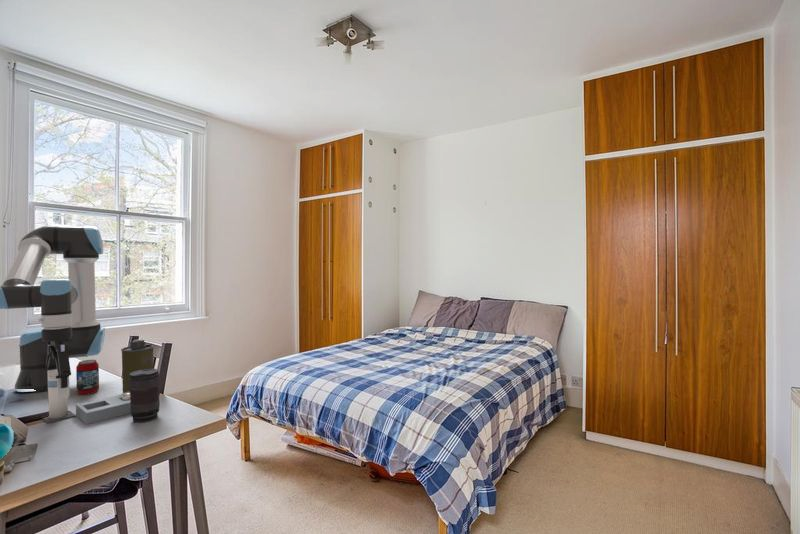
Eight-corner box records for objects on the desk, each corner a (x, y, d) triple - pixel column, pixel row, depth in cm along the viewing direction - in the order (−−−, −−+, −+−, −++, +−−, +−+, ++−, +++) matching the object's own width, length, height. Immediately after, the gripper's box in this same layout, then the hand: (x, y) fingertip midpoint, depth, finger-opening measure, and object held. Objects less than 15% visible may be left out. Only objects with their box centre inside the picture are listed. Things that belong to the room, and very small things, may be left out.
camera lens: (132, 416, 131) (131, 369, 131) (161, 412, 134) (160, 367, 134) (127, 425, 123) (126, 376, 123) (157, 421, 127) (157, 373, 126)
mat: (42, 418, 130) (42, 416, 130) (69, 411, 135) (69, 410, 135) (47, 423, 125) (47, 422, 125) (75, 416, 131) (75, 415, 131)
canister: (138, 398, 148) (137, 343, 147) (114, 396, 150) (113, 342, 149) (161, 389, 158) (161, 338, 158) (139, 387, 160) (138, 337, 160)
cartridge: (47, 416, 130) (46, 373, 130) (66, 412, 133) (64, 369, 133) (50, 420, 127) (49, 375, 127) (69, 415, 131) (68, 372, 130)
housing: (76, 415, 132) (75, 404, 132) (132, 401, 144) (132, 391, 144) (86, 424, 124) (86, 413, 124) (145, 409, 137) (144, 399, 137)
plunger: (120, 405, 138) (120, 393, 138) (132, 402, 141) (132, 390, 141) (124, 407, 136) (124, 395, 136) (136, 404, 138) (136, 392, 138)
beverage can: (77, 396, 150) (76, 364, 150) (76, 392, 155) (75, 361, 155) (100, 392, 154) (99, 361, 154) (98, 388, 160) (97, 358, 159)
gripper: (33, 325, 135) (34, 388, 135) (50, 333, 119) (52, 405, 119) (62, 322, 140) (63, 383, 141) (82, 329, 125) (83, 398, 125)
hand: (58, 393), depth 130 cm, fingers open, 13 cm apart
